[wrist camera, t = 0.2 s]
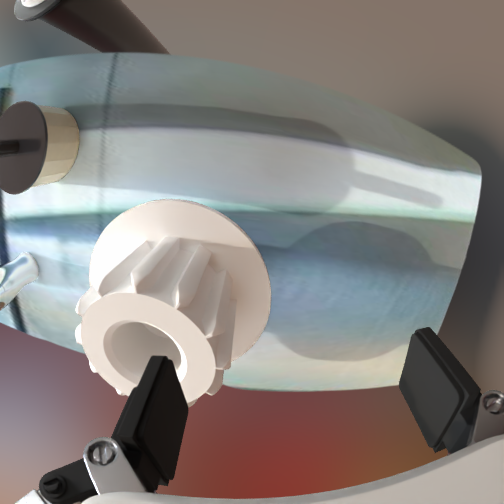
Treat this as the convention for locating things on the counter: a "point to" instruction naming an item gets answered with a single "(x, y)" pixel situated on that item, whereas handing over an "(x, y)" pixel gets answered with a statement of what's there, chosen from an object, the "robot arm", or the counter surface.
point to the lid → (22, 146)
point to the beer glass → (16, 276)
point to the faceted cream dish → (58, 145)
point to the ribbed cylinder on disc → (172, 296)
